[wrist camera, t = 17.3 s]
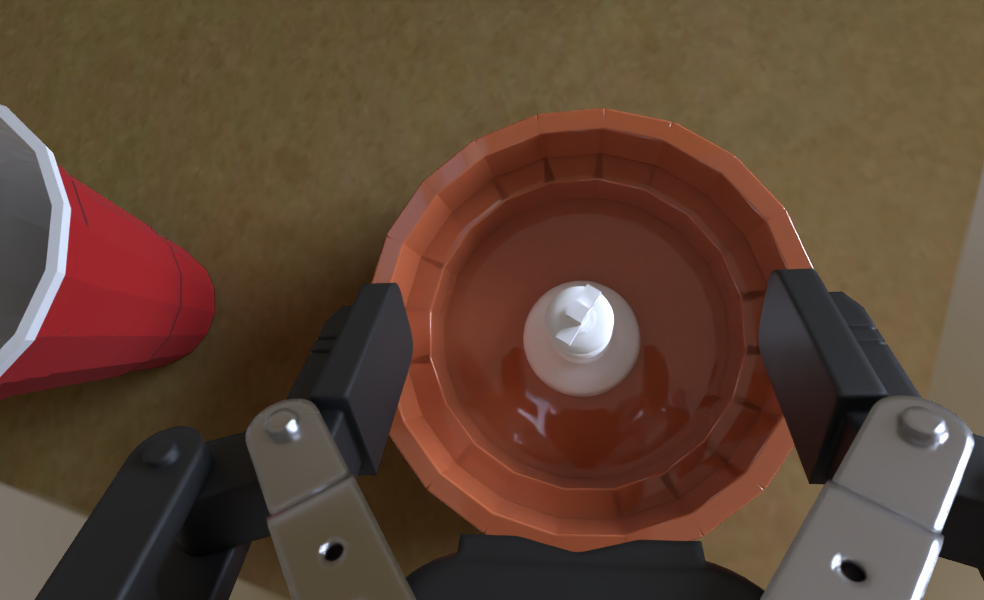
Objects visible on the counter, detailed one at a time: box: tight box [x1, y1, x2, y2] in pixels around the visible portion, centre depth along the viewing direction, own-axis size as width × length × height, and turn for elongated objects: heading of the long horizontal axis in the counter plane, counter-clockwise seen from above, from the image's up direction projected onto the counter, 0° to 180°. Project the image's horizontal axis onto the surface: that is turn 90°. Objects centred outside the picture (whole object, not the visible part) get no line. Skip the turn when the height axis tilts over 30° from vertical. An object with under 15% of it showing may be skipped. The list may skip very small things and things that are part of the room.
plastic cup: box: [0, 105, 215, 400], centre depth 23 cm, size 11×11×12 cm
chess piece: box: [523, 281, 640, 397], centre depth 20 cm, size 5×5×10 cm
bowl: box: [371, 108, 813, 552], centre depth 23 cm, size 16×16×6 cm
